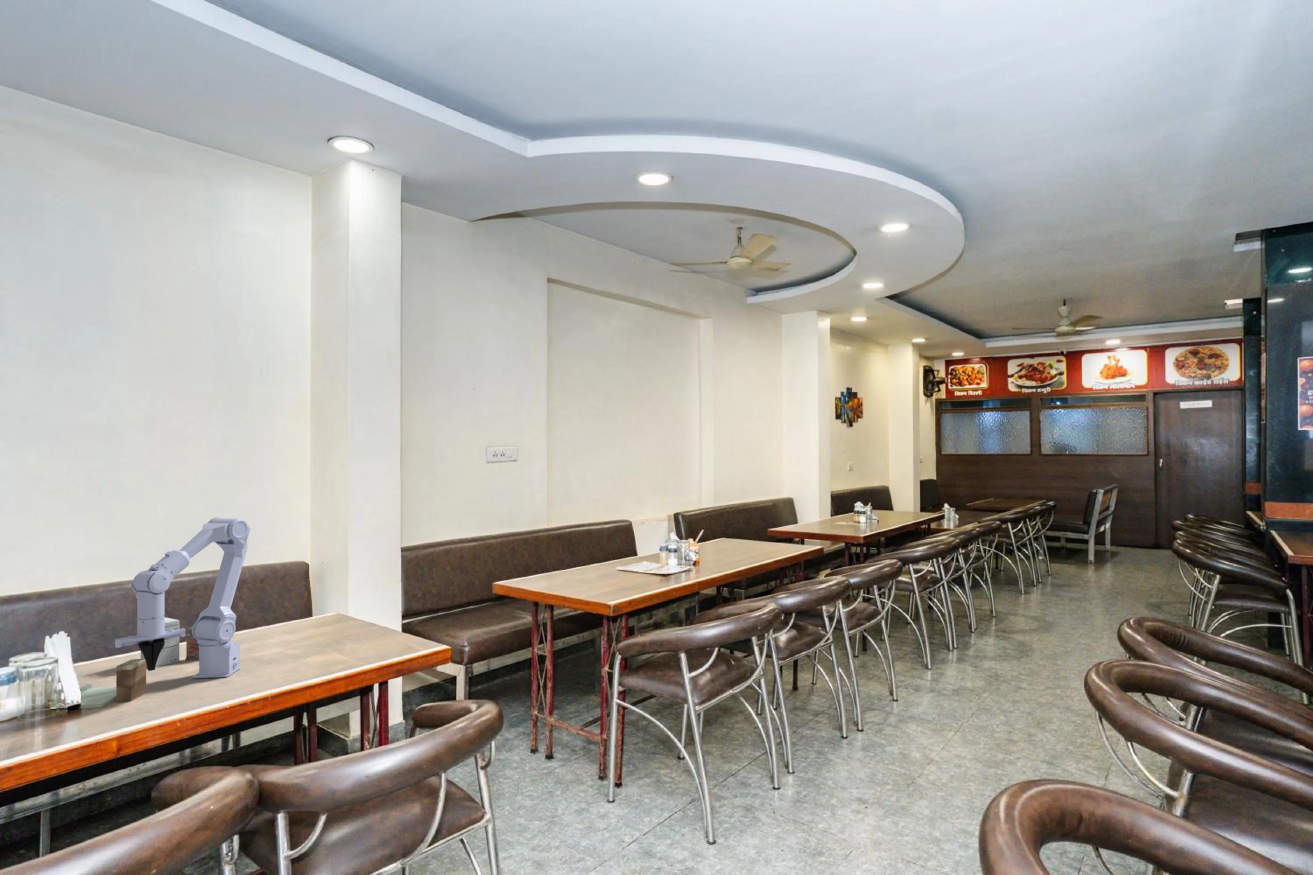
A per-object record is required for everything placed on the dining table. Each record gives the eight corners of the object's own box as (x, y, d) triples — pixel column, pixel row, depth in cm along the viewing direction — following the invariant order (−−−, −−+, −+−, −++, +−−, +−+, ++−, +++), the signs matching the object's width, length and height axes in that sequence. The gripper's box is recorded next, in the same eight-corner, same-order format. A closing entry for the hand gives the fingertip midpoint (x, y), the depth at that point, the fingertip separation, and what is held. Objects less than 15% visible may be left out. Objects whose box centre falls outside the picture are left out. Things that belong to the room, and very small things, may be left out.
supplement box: (139, 664, 206) (139, 622, 206) (166, 657, 212) (166, 616, 212) (153, 668, 202) (153, 624, 202) (180, 661, 209) (180, 619, 209)
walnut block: (146, 692, 181) (146, 658, 182) (131, 701, 175) (131, 665, 176) (132, 693, 181) (131, 659, 181) (116, 701, 175) (116, 666, 175)
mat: (135, 688, 184) (135, 682, 184) (101, 707, 172) (101, 699, 172) (87, 690, 183) (87, 684, 183) (49, 709, 170) (49, 702, 170)
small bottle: (183, 661, 208) (183, 628, 208) (188, 657, 212) (188, 625, 212) (214, 658, 211) (213, 625, 211) (217, 655, 214) (217, 623, 214)
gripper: (181, 609, 187) (181, 659, 187) (113, 619, 177) (113, 672, 177) (186, 613, 182) (187, 665, 182) (117, 624, 172) (117, 679, 172)
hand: (151, 669), depth 179 cm, fingers closed
